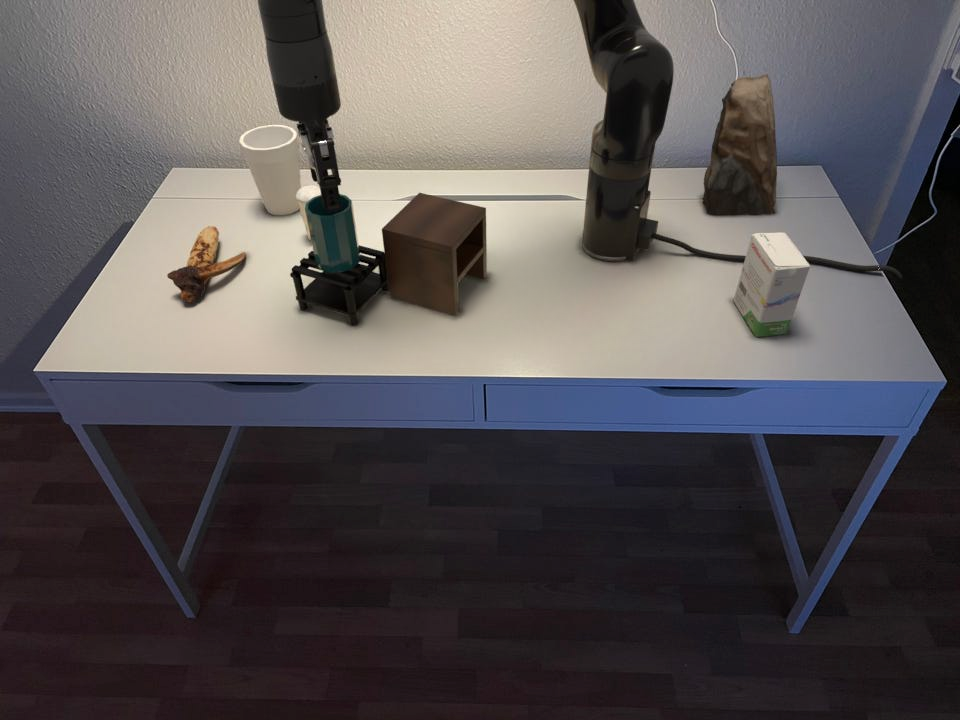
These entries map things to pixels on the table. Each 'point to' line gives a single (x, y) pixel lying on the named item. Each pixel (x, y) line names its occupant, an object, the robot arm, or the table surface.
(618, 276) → the table surface
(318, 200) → the cup
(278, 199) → the foam cup
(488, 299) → the table surface
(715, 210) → the tall brown rock
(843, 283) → the table surface
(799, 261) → the ink box
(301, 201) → the milkshake
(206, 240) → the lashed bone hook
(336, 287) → the rack
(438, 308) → the shelf
